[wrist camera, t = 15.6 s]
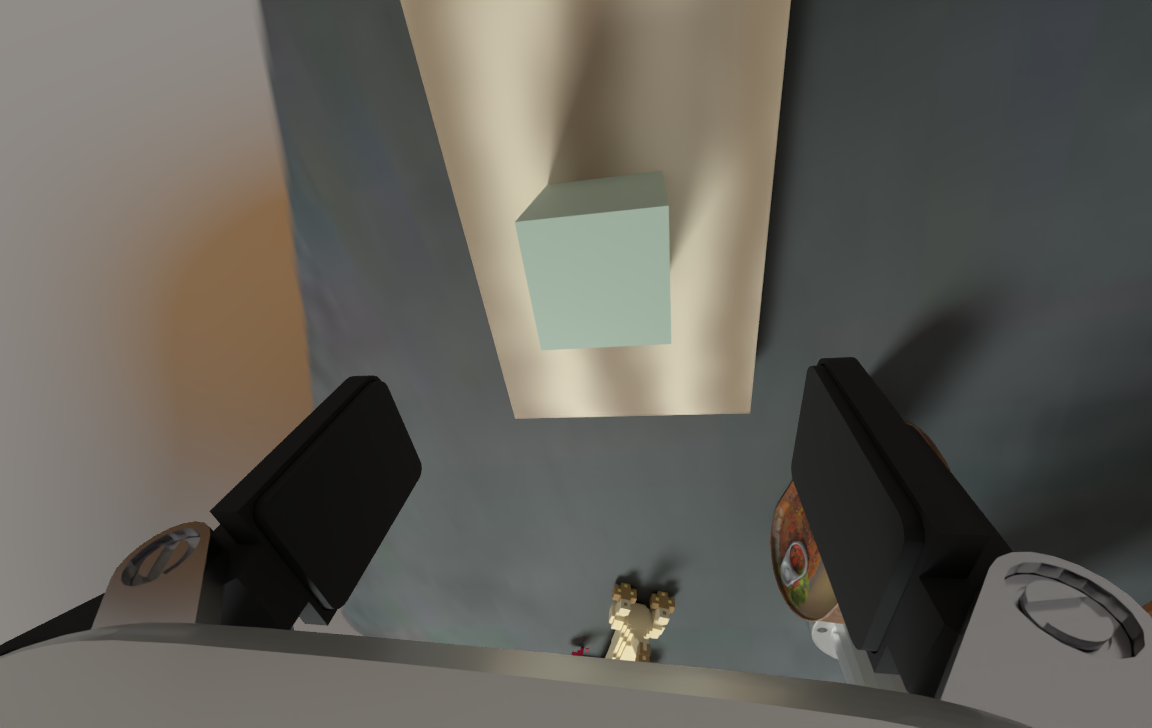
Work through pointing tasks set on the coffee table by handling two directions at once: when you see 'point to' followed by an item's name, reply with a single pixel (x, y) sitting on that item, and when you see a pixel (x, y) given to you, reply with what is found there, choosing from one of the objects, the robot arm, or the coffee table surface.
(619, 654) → the cream elongated piece
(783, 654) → the coffee table surface
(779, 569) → the tin
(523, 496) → the coffee table surface
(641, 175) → the block
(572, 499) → the coffee table surface
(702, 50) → the base block
